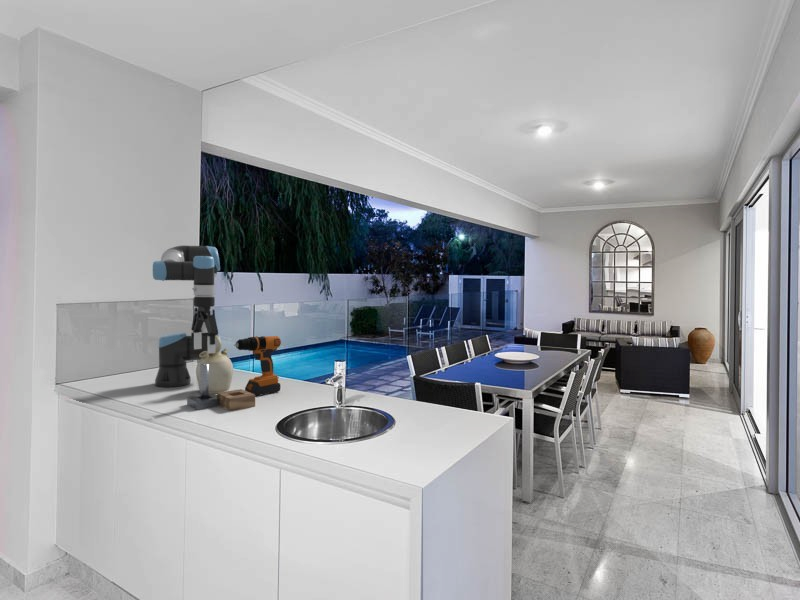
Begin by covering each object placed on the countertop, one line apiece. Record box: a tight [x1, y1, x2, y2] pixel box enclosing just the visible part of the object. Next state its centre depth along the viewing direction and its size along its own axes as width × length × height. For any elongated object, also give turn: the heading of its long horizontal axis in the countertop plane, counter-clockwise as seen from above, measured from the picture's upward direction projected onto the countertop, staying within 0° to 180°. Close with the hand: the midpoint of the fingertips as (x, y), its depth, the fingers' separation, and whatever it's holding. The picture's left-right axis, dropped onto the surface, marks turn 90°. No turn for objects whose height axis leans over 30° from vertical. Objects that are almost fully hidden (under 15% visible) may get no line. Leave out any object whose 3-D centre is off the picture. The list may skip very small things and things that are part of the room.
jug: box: [195, 335, 234, 394], centre depth 214 cm, size 15×16×25 cm
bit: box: [199, 364, 210, 399], centre depth 190 cm, size 3×3×16 cm
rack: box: [216, 388, 256, 412], centre depth 190 cm, size 12×10×5 cm
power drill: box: [233, 335, 282, 397], centre depth 210 cm, size 22×7×25 cm, turn 138°
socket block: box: [186, 393, 221, 411], centre depth 190 cm, size 10×10×4 cm
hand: (204, 351), depth 189 cm, fingers open, 13 cm apart
